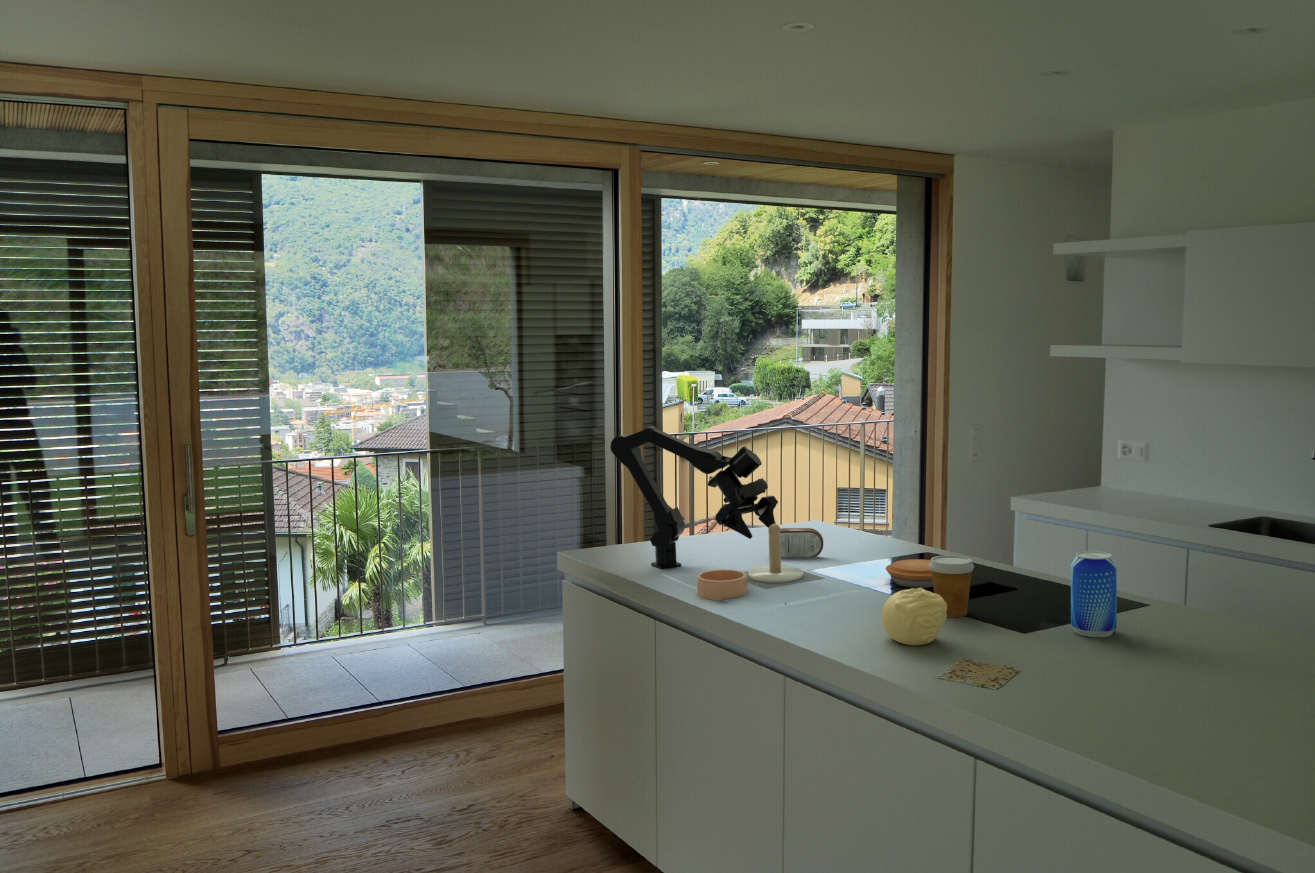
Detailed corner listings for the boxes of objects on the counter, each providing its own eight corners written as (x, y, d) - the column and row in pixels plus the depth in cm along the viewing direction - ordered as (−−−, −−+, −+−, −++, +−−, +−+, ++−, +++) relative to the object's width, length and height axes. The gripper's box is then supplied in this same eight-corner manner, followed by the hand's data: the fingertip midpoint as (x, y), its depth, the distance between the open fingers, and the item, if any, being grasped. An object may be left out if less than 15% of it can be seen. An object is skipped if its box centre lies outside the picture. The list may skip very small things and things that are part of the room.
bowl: (689, 591, 243) (688, 574, 242) (730, 584, 248) (729, 567, 248) (713, 602, 232) (713, 583, 232) (756, 594, 238) (756, 576, 237)
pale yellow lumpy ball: (911, 653, 190) (911, 599, 189) (871, 638, 200) (870, 586, 199) (956, 643, 195) (955, 590, 194) (914, 628, 206) (913, 578, 205)
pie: (881, 588, 240) (880, 568, 239) (891, 573, 254) (890, 554, 253) (947, 592, 234) (946, 571, 233) (953, 577, 248) (953, 557, 248)
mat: (727, 576, 257) (727, 574, 257) (784, 566, 265) (784, 565, 265) (765, 590, 241) (765, 588, 241) (825, 580, 249) (825, 578, 249)
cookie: (957, 660, 186) (957, 655, 186) (1022, 672, 178) (1022, 667, 178) (930, 679, 177) (930, 673, 177) (997, 692, 169) (997, 686, 169)
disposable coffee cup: (977, 609, 218) (976, 556, 217) (971, 621, 209) (971, 565, 208) (933, 606, 222) (932, 553, 221) (925, 617, 213) (925, 563, 212)
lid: (737, 574, 256) (736, 523, 255) (782, 567, 263) (781, 516, 261) (768, 585, 244) (766, 531, 242) (814, 577, 250) (812, 524, 249)
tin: (823, 556, 276) (822, 526, 276) (824, 559, 273) (823, 529, 272) (769, 557, 278) (768, 527, 277) (769, 559, 275) (769, 530, 274)
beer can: (1114, 627, 201) (1114, 550, 200) (1118, 639, 193) (1119, 559, 192) (1069, 625, 204) (1069, 549, 202) (1072, 637, 196) (1072, 558, 195)
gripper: (721, 473, 252) (753, 521, 244) (771, 465, 264) (804, 510, 256) (701, 501, 259) (732, 548, 251) (751, 492, 270) (782, 536, 263)
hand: (763, 534), depth 255 cm, fingers open, 9 cm apart
